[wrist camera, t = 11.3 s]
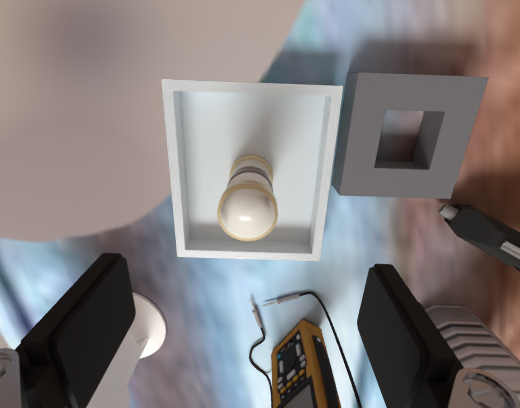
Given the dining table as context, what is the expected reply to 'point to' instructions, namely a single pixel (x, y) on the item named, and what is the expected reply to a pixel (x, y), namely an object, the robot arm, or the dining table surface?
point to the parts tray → (243, 143)
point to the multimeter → (302, 366)
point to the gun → (484, 232)
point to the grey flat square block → (429, 140)
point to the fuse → (248, 200)
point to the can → (476, 343)
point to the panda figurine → (130, 355)
